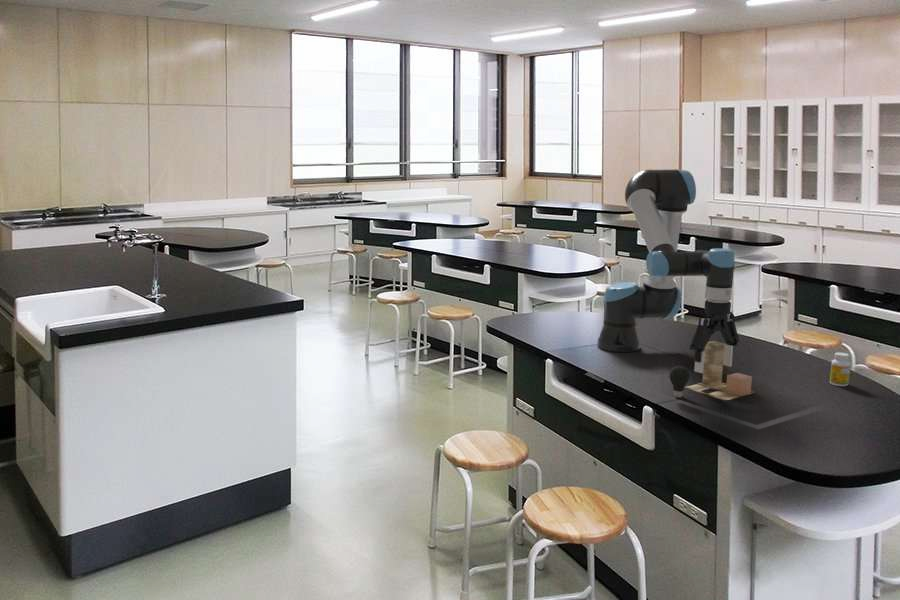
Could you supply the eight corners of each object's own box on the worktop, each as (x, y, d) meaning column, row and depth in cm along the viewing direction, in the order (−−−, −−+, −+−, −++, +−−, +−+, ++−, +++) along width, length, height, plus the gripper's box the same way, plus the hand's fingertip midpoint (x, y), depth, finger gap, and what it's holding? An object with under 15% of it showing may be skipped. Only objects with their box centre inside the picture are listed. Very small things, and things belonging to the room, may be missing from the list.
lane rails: (683, 390, 248) (683, 386, 248) (712, 383, 256) (712, 379, 256) (725, 403, 236) (725, 399, 236) (754, 395, 244) (754, 391, 244)
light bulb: (671, 394, 244) (674, 362, 242) (690, 398, 241) (692, 365, 239) (665, 399, 239) (667, 366, 237) (684, 403, 236) (686, 369, 234)
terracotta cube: (725, 391, 245) (727, 375, 244) (736, 388, 247) (737, 372, 246) (740, 395, 241) (741, 379, 240) (750, 392, 243) (752, 376, 242)
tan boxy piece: (699, 386, 252) (702, 342, 250) (709, 383, 255) (713, 340, 253) (741, 399, 240) (745, 353, 238) (751, 396, 243) (755, 350, 241)
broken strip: (685, 390, 249) (685, 386, 249) (696, 387, 252) (696, 384, 251) (727, 403, 237) (727, 399, 237) (738, 400, 240) (738, 397, 239)
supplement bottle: (825, 381, 259) (829, 351, 257) (842, 381, 260) (845, 351, 258) (835, 386, 254) (838, 356, 252) (851, 386, 254) (855, 356, 252)
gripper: (701, 306, 236) (696, 377, 240) (754, 298, 251) (748, 365, 255) (680, 302, 243) (676, 372, 247) (733, 294, 257) (728, 360, 261)
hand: (713, 368), depth 251 cm, fingers open, 13 cm apart
